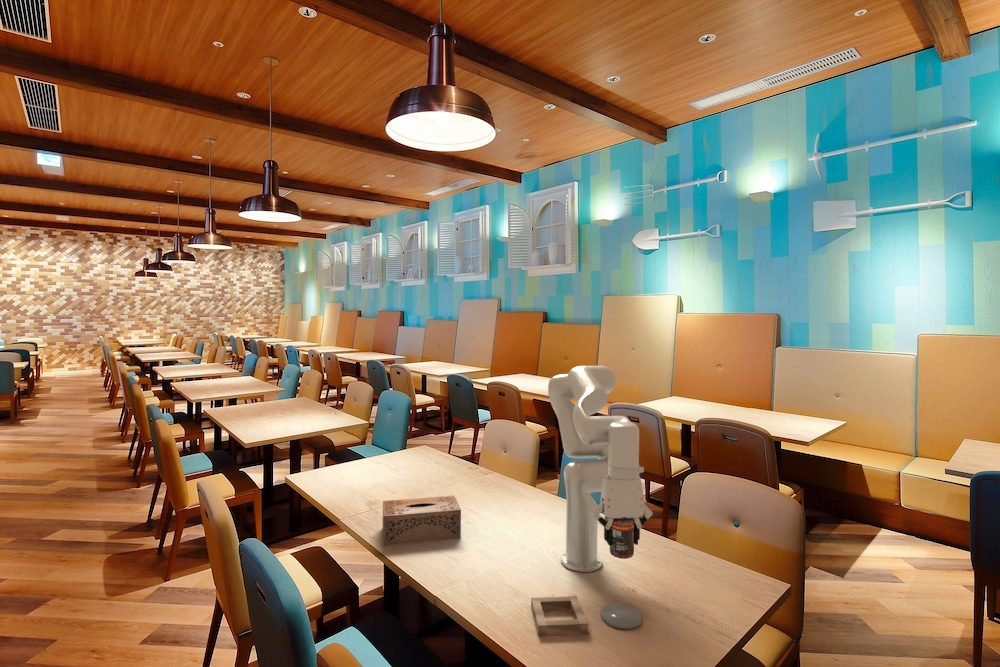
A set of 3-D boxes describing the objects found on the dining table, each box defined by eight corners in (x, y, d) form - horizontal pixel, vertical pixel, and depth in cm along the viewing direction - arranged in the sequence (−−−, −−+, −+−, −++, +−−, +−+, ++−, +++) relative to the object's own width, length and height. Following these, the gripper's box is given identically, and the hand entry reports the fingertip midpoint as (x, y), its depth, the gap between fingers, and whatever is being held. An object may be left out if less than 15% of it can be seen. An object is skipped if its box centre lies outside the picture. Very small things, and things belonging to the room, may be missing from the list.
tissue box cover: (383, 546, 167) (383, 516, 167) (382, 528, 181) (382, 500, 181) (460, 538, 173) (460, 509, 173) (454, 522, 187) (454, 495, 187)
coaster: (596, 606, 133) (596, 603, 132) (633, 605, 133) (633, 602, 133) (607, 630, 123) (607, 627, 123) (647, 628, 123) (647, 625, 123)
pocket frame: (531, 607, 132) (531, 597, 132) (576, 605, 133) (576, 596, 133) (538, 636, 120) (538, 625, 120) (588, 633, 121) (588, 623, 121)
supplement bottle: (629, 548, 131) (630, 505, 130) (636, 559, 125) (637, 514, 124) (606, 548, 130) (607, 505, 130) (612, 560, 124) (613, 514, 124)
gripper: (650, 466, 131) (649, 535, 132) (585, 467, 130) (584, 537, 130) (662, 476, 124) (660, 548, 124) (593, 477, 122) (591, 550, 123)
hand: (621, 542), depth 127 cm, fingers closed on supplement bottle, 6 cm apart
